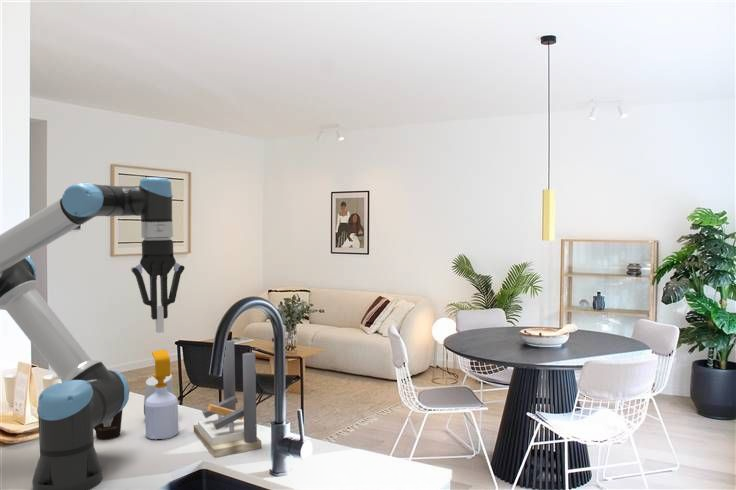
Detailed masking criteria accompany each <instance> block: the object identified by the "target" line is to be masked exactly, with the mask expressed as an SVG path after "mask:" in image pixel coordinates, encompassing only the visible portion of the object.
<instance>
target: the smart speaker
mask: <svg viewBox="0 0 736 490" xmlns="http://www.w3.org/2000/svg"><path fill="white" fill-rule="evenodd" d="M164 383H167V391H168V392H170V393H172V394H173V395H175V390H174V384H173V383H174V381H173V375H172V373H170V376H167V377H166V379H164ZM155 384H158V380H156V378H154V377H153V376H152V375H151V376H150V377H149V378H147V379H146V380H145V386H144V400H143V415H144V416H145V402H146V400H147V398H148V397H149V396H151V395H152V394H154V393H155Z"/></svg>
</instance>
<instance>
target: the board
mask: <svg viewBox="0 0 736 490" xmlns="http://www.w3.org/2000/svg"><path fill="white" fill-rule="evenodd" d="M193 432H194V434H195V436H197V438H198V439H199V441H200V442H201V443H202V444H203V446H204V447H205V448H206V450H208V452H209V453H210V454H211V455H212V457H213V458H217V457H224V456H229V455H232V454H238V453H244V452H248V451H253V450H259V449H261V448H262V440H261V439H260V438H259V437H258V436H257V441H256V442H253V443H246V442H244V439H242V440H237V441H232V442H227V443H222V444H217V445H212V444H211V443H210V442H209V441H208V440H207V438H206V437H205V436H204V435H203V434H202V432H201V431H200V430H199V429H198V424H193Z"/></svg>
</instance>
